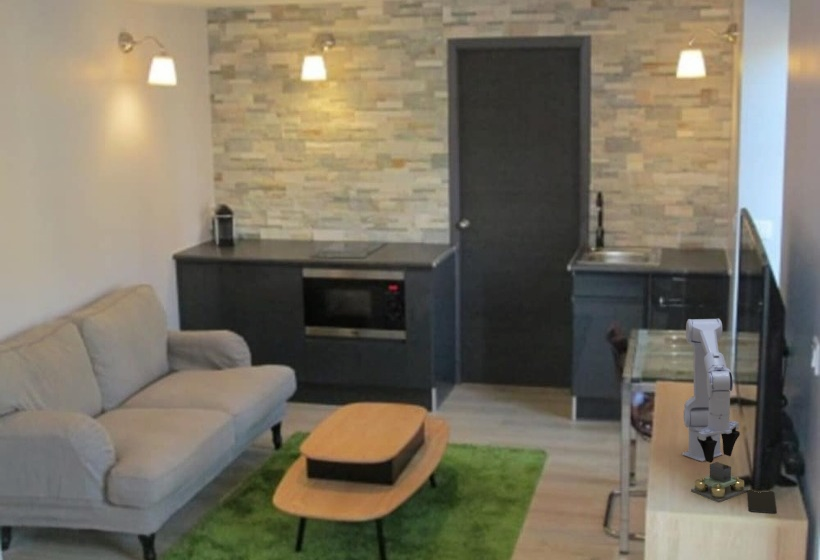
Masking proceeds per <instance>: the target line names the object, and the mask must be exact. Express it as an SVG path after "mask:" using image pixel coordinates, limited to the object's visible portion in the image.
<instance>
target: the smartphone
mask: <svg viewBox="0 0 820 560" xmlns="http://www.w3.org/2000/svg"><path fill="white" fill-rule="evenodd" d="M752 490H753V489H748V491H747V492H746V493H747V495H746V496H747V497H746V498H747V510H748V512H749V513H757V514H769V515H770V514H771V515H773V514H774V515H775V514H777V512H778V511H777V510H778V509H777V502H776V494H775V492H774V491H772V490H768V491H769V492H761V493H760V492H759V493H758V492H754V491H752Z"/></svg>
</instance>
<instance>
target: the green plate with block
mask: <svg viewBox="0 0 820 560" xmlns="http://www.w3.org/2000/svg"><path fill="white" fill-rule="evenodd" d="M736 477H737V476H735V475H732V466H730V465H727V464H724V463H721V462H718V461H715V462H712V463H710V464H709V475H708V476H705V477H703V480H704V481H705V484H706V485H709V486H712V487H717V484H719V485H720V487H723V488H724V487H727V486H730V485H732V484H735V483H736V481H737V480H736Z"/></svg>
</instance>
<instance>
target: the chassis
mask: <svg viewBox="0 0 820 560" xmlns="http://www.w3.org/2000/svg"><path fill="white" fill-rule="evenodd" d="M735 477H736V480H737V481H736V483H735V484H732V485H731V486H727V487H724V488H723V487H720V485H719V484H717V487H712V486H709V485H706V484H705V481H704V477H700V478H699V479H695V481H694V488H691V489H690V491H691V492H692V493H695V494H697V495H699V496H701V497H702V496H703V497H705V498H707V499H709V500H711V501H715V502H717V503H721V502H724V501H727V500H728V499H729V500H730V499H731V498H735V497H737V496H740V495H741V494H744V493H747V491H748V490H749V489H748V488H746V487H745V480H744V479H741V478H740V477H738V476H735Z"/></svg>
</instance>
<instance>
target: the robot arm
mask: <svg viewBox="0 0 820 560" xmlns="http://www.w3.org/2000/svg"><path fill="white" fill-rule="evenodd" d="M722 337H723V323H722V320H721V319H720V318H703V319H702V318H698V319H695V318H694V319H691V318H688V319H687V321H686V325H685V340H686V343H687V344H688V345H691V346H692V349H693V396H691V397H690V398H689V399H687V400H686V401H685V402H684V407H683V408H684V409H683V422H684V423H683V424H684V426H685V427H686V428H688V450H687V451H685V452H682V456H685V457H686V458H687V457H688V458H690V459H693V460H696V461H698V462H708V463H710V464H712V463H714V462H713V461H714V458H716V457H720V456H723V455H725V456H728V457H731V456H732V453H733V450H734V447H735V444H736V442H737V440H738V439H739V437H740V435H741V434H740V431H738V430H739V429H740V422H738V421H735V420H732V421H730V417H731V415H730V411H731V392H732V391H733V388H734V379H733V378H734V377H733V373H732V371H731V369H730V368H728V367H727V362H726V359H725V356H724V354H723V353H721V352H720V351H719V344H718V342H719V341H720V340H721V339H722ZM721 439H722V452H721Z"/></svg>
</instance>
